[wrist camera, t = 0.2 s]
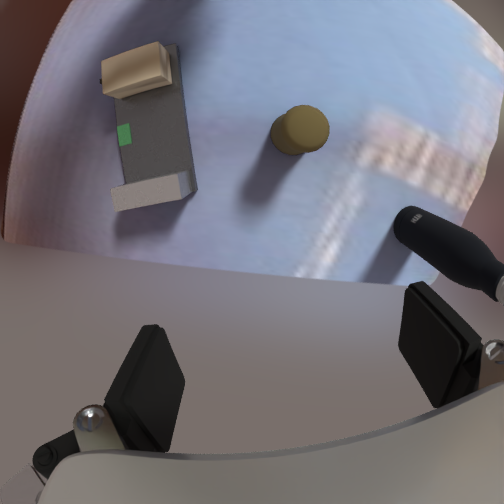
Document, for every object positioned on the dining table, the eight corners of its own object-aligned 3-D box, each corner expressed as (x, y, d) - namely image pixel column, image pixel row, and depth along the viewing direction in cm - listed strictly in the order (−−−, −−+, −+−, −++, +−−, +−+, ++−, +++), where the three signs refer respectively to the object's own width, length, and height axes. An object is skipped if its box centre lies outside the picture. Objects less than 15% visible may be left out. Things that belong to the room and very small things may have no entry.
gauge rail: (116, 65, 31) (92, 53, 24) (178, 46, 31) (163, 27, 24) (134, 201, 39) (111, 212, 32) (197, 189, 38) (185, 198, 31)
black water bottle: (417, 247, 41) (543, 353, 13) (388, 239, 41) (521, 357, 13) (429, 211, 39) (573, 293, 11) (400, 200, 39) (556, 285, 11)
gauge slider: (111, 71, 30) (94, 63, 25) (169, 52, 30) (158, 41, 25) (113, 101, 32) (96, 96, 27) (172, 83, 31) (161, 75, 27)
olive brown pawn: (274, 157, 37) (282, 160, 27) (267, 115, 35) (273, 101, 25) (317, 152, 37) (340, 154, 26) (310, 110, 35) (332, 97, 24)
